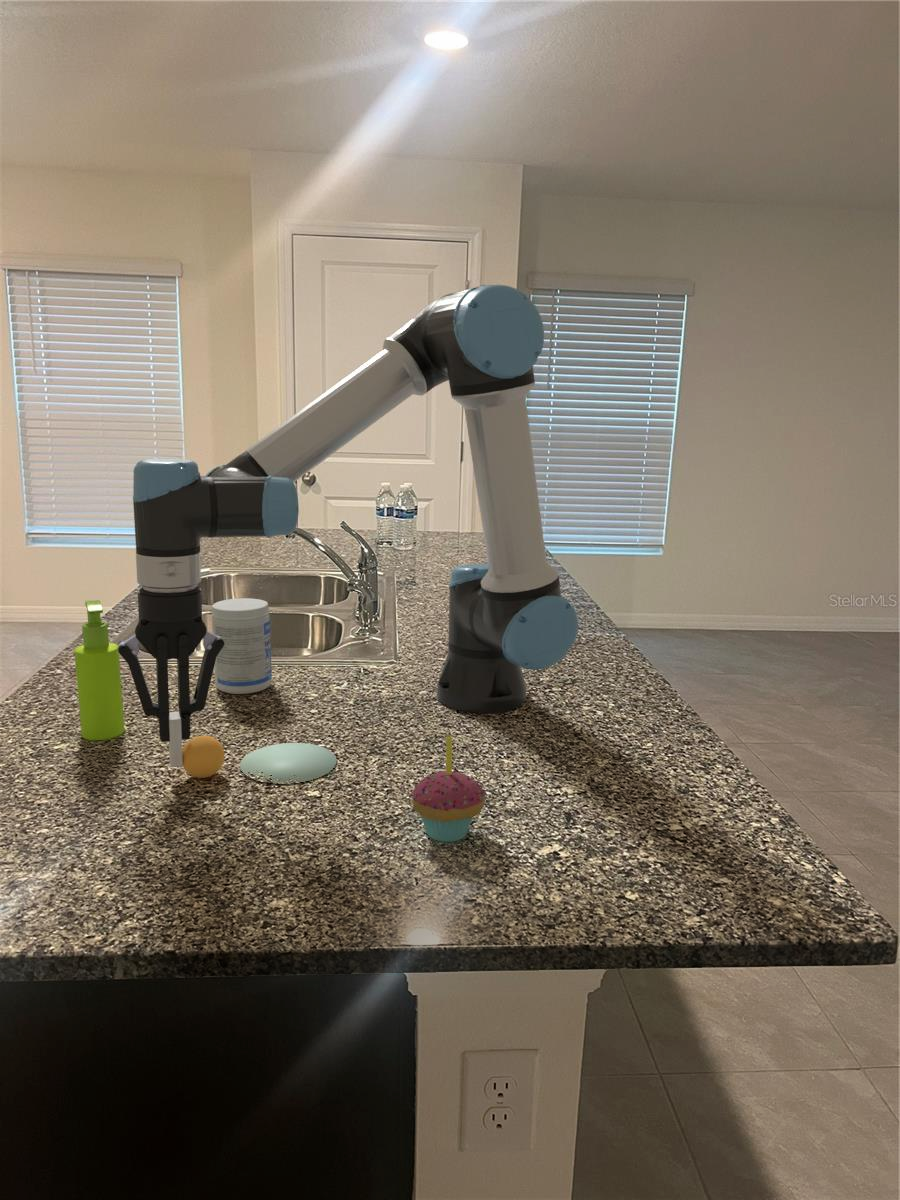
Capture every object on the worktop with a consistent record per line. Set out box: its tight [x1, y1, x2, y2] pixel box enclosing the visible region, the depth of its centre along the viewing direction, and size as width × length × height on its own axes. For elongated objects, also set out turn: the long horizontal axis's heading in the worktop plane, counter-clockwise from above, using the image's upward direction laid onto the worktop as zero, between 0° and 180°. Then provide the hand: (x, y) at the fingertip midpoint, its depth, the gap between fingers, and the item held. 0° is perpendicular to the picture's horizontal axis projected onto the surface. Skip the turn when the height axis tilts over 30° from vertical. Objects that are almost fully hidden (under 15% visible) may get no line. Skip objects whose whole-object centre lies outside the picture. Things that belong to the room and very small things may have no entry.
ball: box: [182, 735, 225, 779], centre depth 110 cm, size 6×6×6 cm
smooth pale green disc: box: [239, 742, 337, 783], centre depth 115 cm, size 13×13×1 cm
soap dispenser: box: [73, 599, 125, 741], centre depth 120 cm, size 6×7×20 cm
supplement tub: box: [211, 597, 273, 695], centre depth 142 cm, size 10×10×15 cm
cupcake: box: [411, 729, 486, 843], centre depth 96 cm, size 9×8×12 cm
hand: (175, 762), depth 108 cm, fingers closed
